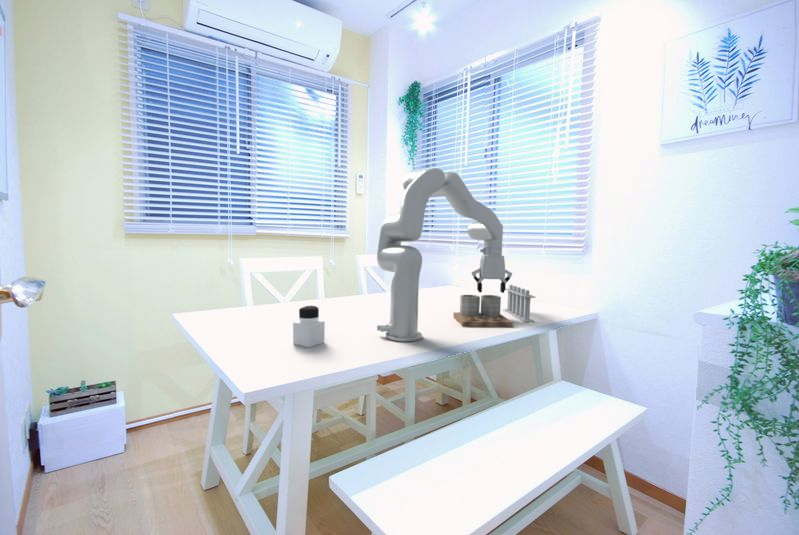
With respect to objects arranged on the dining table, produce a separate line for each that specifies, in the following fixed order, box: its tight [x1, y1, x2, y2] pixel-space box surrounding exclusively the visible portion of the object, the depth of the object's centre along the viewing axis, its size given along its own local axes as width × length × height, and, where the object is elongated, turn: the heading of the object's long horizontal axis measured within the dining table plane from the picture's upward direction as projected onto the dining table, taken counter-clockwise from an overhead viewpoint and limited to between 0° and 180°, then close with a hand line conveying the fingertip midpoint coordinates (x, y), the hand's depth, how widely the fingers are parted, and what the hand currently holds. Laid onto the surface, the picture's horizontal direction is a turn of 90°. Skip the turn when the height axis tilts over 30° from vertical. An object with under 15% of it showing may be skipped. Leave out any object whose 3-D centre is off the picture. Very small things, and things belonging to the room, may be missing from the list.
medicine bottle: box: [292, 305, 326, 348], centre depth 120 cm, size 7×7×12 cm
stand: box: [452, 294, 514, 328], centre depth 156 cm, size 20×18×10 cm
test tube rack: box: [502, 284, 536, 324], centre depth 168 cm, size 25×4×13 cm, turn 5°
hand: (491, 292), depth 160 cm, fingers open, 9 cm apart
